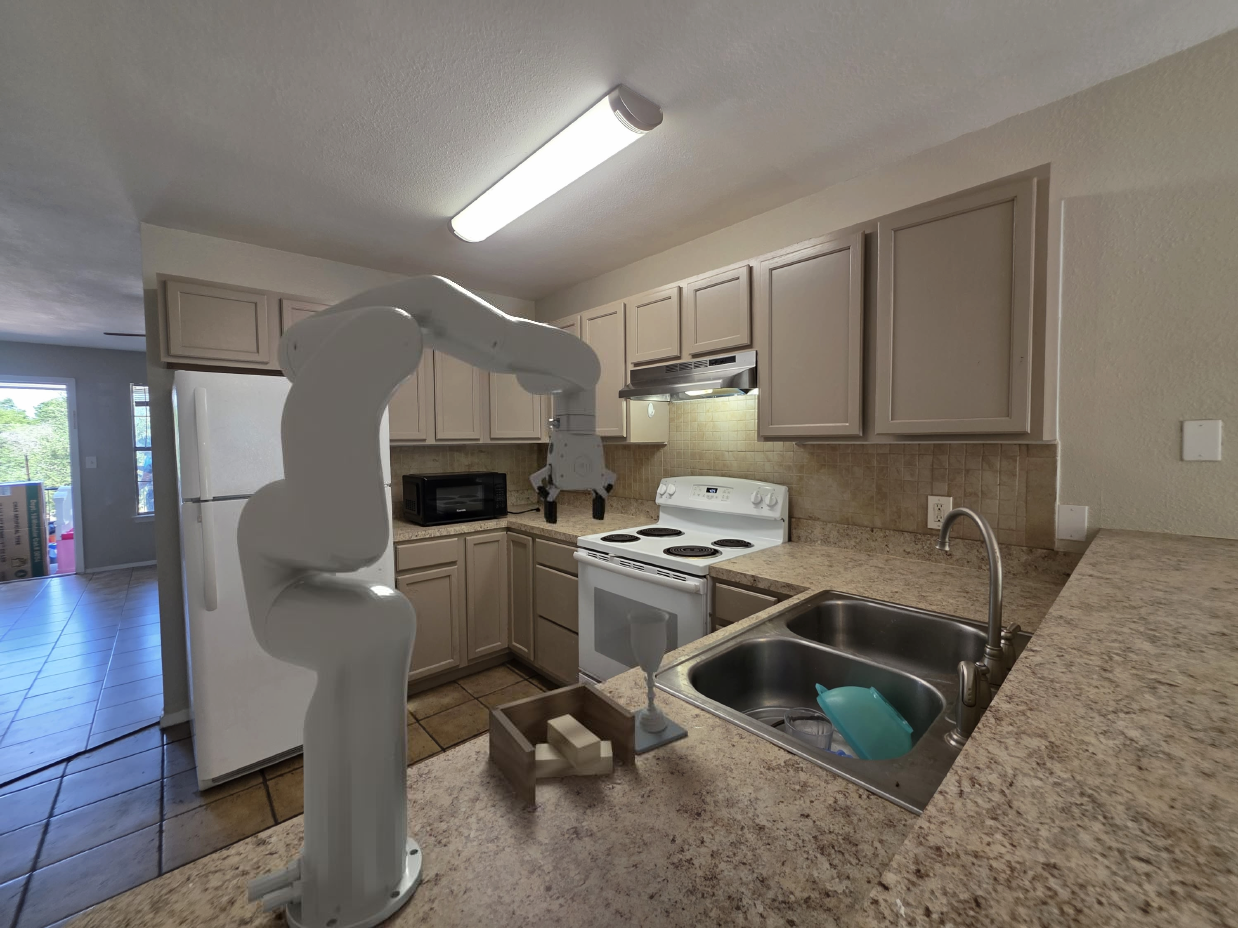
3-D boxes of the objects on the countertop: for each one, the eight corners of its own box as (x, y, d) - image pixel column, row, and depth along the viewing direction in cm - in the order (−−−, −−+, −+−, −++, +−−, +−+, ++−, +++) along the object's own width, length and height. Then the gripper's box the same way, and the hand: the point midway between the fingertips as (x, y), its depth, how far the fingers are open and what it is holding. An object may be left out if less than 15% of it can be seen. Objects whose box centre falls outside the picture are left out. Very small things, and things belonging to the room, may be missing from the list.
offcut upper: (547, 740, 76) (547, 720, 76) (568, 733, 78) (568, 714, 78) (578, 770, 68) (578, 748, 68) (600, 761, 71) (600, 739, 71)
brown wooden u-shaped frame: (526, 806, 65) (526, 752, 65) (489, 754, 77) (489, 708, 77) (635, 762, 74) (635, 714, 74) (586, 722, 86) (586, 680, 86)
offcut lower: (534, 781, 71) (533, 759, 71) (536, 764, 75) (536, 744, 75) (612, 777, 72) (612, 756, 72) (610, 760, 76) (610, 740, 76)
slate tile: (637, 754, 76) (637, 750, 76) (602, 725, 85) (602, 722, 85) (687, 734, 82) (687, 730, 82) (650, 709, 90) (650, 706, 90)
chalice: (678, 732, 81) (674, 621, 81) (637, 738, 80) (632, 625, 79) (665, 709, 88) (661, 607, 88) (627, 715, 87) (622, 611, 86)
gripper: (540, 423, 84) (540, 527, 84) (626, 427, 94) (626, 520, 94) (522, 426, 90) (522, 522, 90) (604, 429, 100) (604, 516, 100)
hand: (575, 521), depth 92 cm, fingers open, 9 cm apart
